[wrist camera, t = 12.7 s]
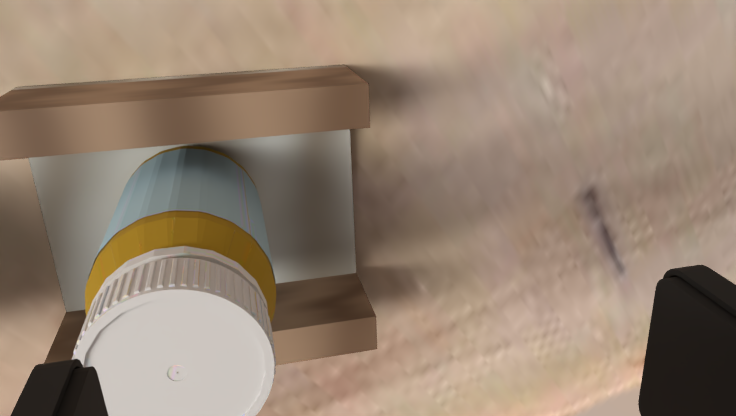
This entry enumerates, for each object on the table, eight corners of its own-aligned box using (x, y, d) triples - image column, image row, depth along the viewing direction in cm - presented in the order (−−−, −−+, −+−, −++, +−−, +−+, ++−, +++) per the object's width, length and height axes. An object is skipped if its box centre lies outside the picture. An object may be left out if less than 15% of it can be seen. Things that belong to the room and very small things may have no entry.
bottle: (180, 114, 31) (152, 230, 17) (286, 196, 34) (333, 351, 20) (94, 215, 32) (3, 401, 18) (204, 287, 35) (197, 495, 21)
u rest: (344, 64, 33) (368, 83, 28) (354, 295, 38) (377, 349, 33) (16, 87, 30) (-27, 113, 24) (76, 335, 35) (52, 401, 30)
